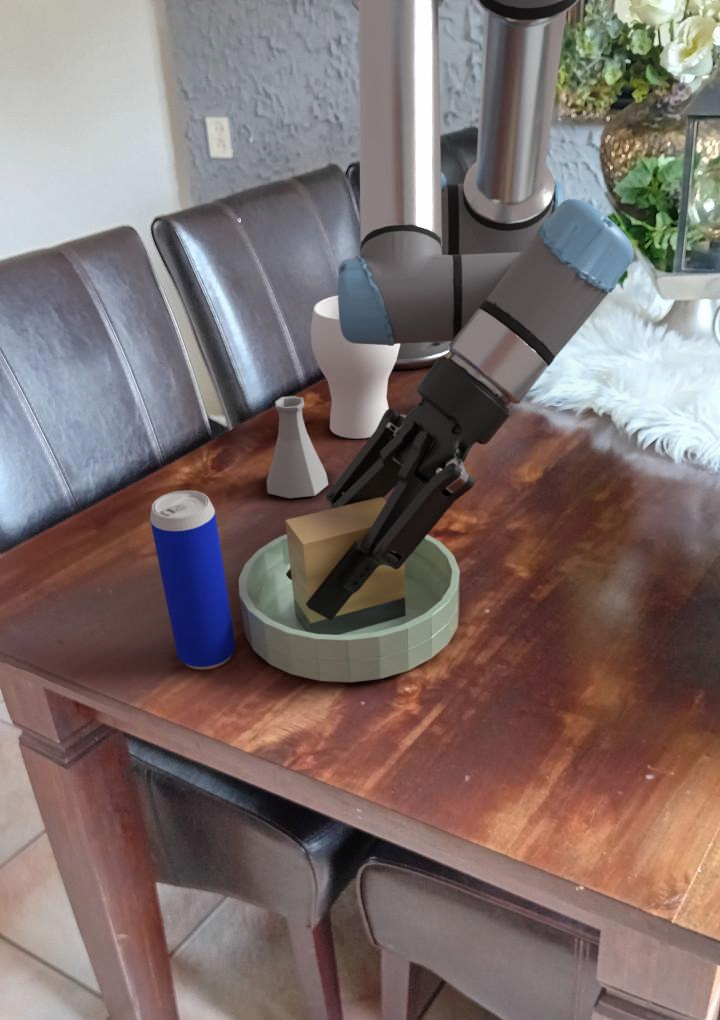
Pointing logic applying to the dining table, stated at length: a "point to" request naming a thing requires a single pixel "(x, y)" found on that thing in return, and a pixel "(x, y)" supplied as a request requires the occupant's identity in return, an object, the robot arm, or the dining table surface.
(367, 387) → the cup
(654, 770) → the dining table surface
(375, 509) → the eraser
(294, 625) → the bowl
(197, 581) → the beverage can
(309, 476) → the flask
